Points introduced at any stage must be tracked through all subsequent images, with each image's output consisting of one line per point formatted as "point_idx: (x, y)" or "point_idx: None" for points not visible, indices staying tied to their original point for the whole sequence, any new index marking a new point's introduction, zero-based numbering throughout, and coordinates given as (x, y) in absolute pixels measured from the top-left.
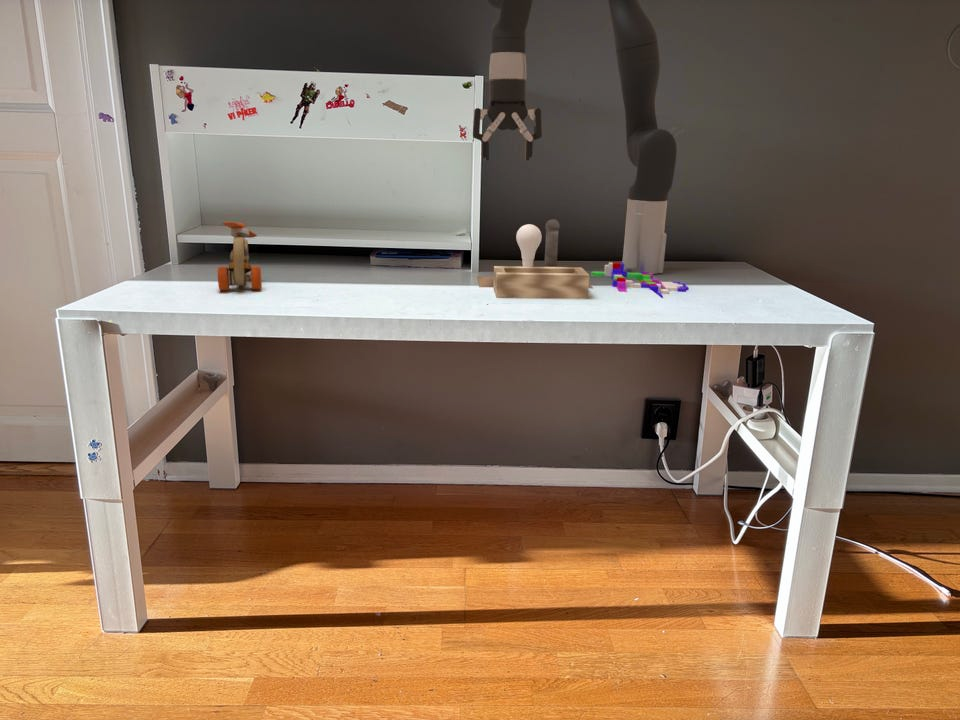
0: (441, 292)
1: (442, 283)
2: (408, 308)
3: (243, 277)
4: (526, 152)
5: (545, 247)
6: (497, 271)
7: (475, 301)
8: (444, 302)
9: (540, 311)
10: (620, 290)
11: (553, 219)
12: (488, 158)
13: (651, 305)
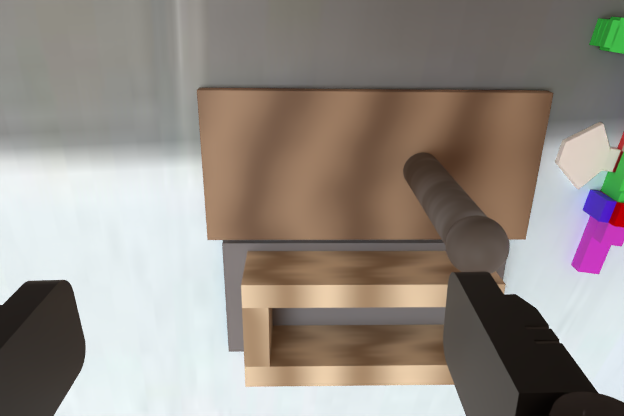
0: (108, 245)
1: (92, 127)
2: None
3: None
4: (465, 405)
5: (428, 213)
6: (248, 355)
7: (203, 330)
8: (130, 342)
9: (342, 400)
10: (586, 263)
11: (488, 263)
12: (75, 370)
13: (605, 344)
